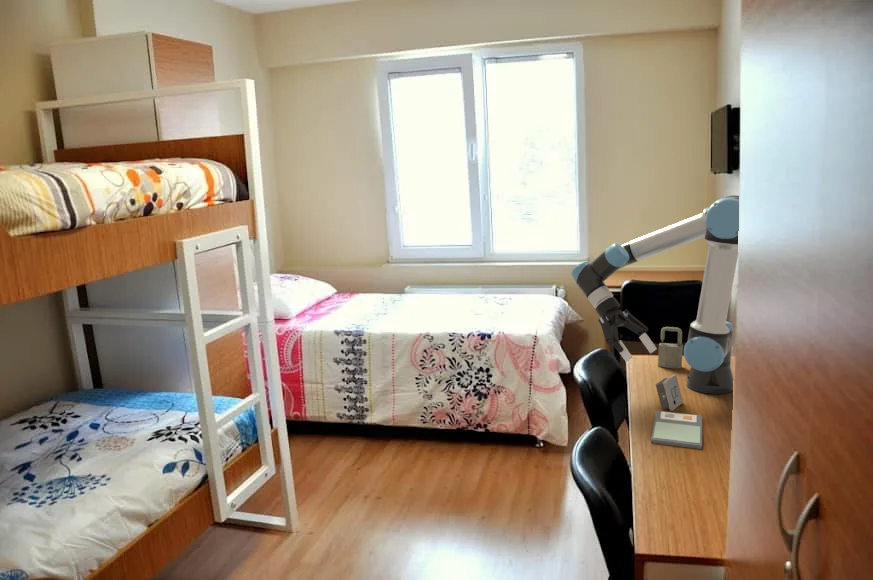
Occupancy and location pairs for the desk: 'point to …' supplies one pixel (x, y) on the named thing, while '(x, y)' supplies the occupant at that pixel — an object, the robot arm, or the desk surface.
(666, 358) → the padlock
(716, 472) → the desk surface
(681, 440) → the switch plate
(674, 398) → the electrical switch
